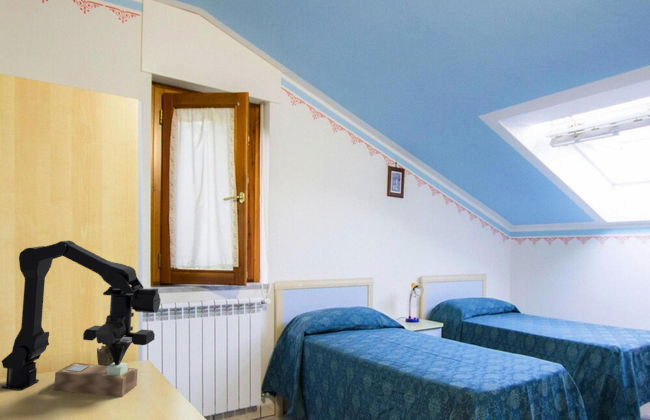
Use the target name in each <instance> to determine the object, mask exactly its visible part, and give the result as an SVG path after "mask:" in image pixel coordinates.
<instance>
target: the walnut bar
mask: <svg viewBox="0 0 650 420" xmlns="http://www.w3.org/2000/svg"><path fill="white" fill-rule="evenodd" d="M75 365H81V366H89V367H88V368H87V369H85V370H83V371H81V372H74V371H67V370H68V369H69V368H71V367H73V366H75ZM138 370H139V369H138V368H134V367H133V368H132V367H128V371H127V372H126V373H124V374H123V375H121V376H115V375H107V366H104V365H98V364H92V363H91V364H90V363H84V362H83V363H81V362H72V363H71V364H69V365H67V366H65V367H63V368H61V369H59V370H58V371H55V372H54V373H55V374H54V387H53V390H54V391H61V392H68V393H79V394H80V393H81V394H89V395H90V394H91V395H98V396H99V395H100V396H108V397H109V396H111V397H118V398H119V397H121V398H122V397H124V396H125V395H126V394H127V393H129V392H130V391H132V390H133V389H135V388H136V387H137V386H138V385H137V384H138V383H137V382H138Z"/></svg>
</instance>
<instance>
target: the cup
mask: <svg viewBox="0 0 650 420" xmlns="http://www.w3.org/2000/svg"><path fill="white" fill-rule="evenodd" d="M96 357H97V365H104V366H109V365H111V364H112V363H114V360H113V357H112V354H111V351H110V349H109V347H108V346H106V345H105V344H102V345H101V347H100V348H99V347H97V348H96Z"/></svg>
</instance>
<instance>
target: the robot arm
mask: <svg viewBox="0 0 650 420" xmlns="http://www.w3.org/2000/svg"><path fill="white" fill-rule="evenodd" d="M61 257H65V259H68V260H70V261H72V262H73V263H76V264H78V265H80V266H82V267H84V268H86V269H88V270H90V271H92V272H93V273H96V274H97V275H98V276H100V278H101V279H102V280H103V281H104V282H105V283H106V284H108V285H109V287H108V288H107V289H106V291H104V292H102V295H103V296H110V304H109V305H110V306H109V315H107V316H106V320H105V322H104V323H103V324H102V325H93V326H91V327H88V328H86V329H85V330H84V332H83V333H82V334H83V335H82V340H84V341H92V342H93V341H94V340H95V339H96V343H97V344H102V345H104V346H105V345H106V346H108V347H109V349H110V351H111V354H112V357H113V360H114V363H115V365H119V364H120V363H121V362H122V361H123V358H124V356H125V355H126V353H127V350H128V349H129V347H130V346H131V344H133V345H136V346H139V345H140V346H147V345H148V344H150V343H152V342H153V341H155V332H154V330H151V329H140V330H138V331H136V332H131V331H133V330H134V326H132V325H131V324H132V317H134V316H135V315H134V314H135V312H137V313H152V314H153V313H155V314H157V313H158V312H159V310H160V307H161V295H160V293H159V289H158V288H144V286H143V284H142V283H141V281H140V279H139V278H138V276H137V271H136V269H135V268H134V267H132V266H130V265H125V264H123V263H119V262H113V261H110V260H107V259H105V258H103V257H101V256H100V255H98V254H96V253H94V252H92V251H89V250H88V249H86V248H84V247H82V246H80V245H78V244H76V242H74V241H71V240H62V241H57V242H55V243H52V244H50V245H49V244H48V245H41V246H33V247H27V248H24V249H23V250H22V251H21V252H20V253H19V255H18V263H19V264H18V265H19V270H20V272H21V274H22V276H23V277H24V283H23V286H24V287H23V298H22V299H23V300H22V312H21V326H20V327H21V328H20V330H19V332H18V334H17V335H16V337H15V338H14V342H13V345H12V350H11V352H10V353H9V354H7V355H6V356H5V357H4V358H3V359H2V360H1V364H2V365H1V366H2V367H3V369H6V382H5V383H4V384H2V385H1V389H9V390H18V391H20V390H21V391H23V390H25V389H27V388H29V387H31V386H33V385H34V384H37V383H38V382H39V381H40V380H39V379H37V370H38V369H37V365H36V364H37V362H36V360H39V359H40V357H41V355H42V354H43V353H44V352H45V351H46V350H47V347H48V346H49V345H50V342H49V337H50V332H49V331H45V330H44V329H43V327H42V324H43V323H42V321H43V312H44V311H43V310H44V309H43V308H44V295H45V284H46V283H45V279H46V277H47V275H48V272H49V271H50V269H51V267H52V265H53V260H55V259H58V258H61ZM132 310H134V312H132Z"/></svg>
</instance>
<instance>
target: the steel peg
mask: <svg viewBox="0 0 650 420" xmlns="http://www.w3.org/2000/svg"><path fill="white" fill-rule="evenodd" d="M88 367H89V366H81V365H75V366H73V367H71V368H69V369H68V370H67V371H74V372H81V371H83V370H85V369H87V368H88Z"/></svg>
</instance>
